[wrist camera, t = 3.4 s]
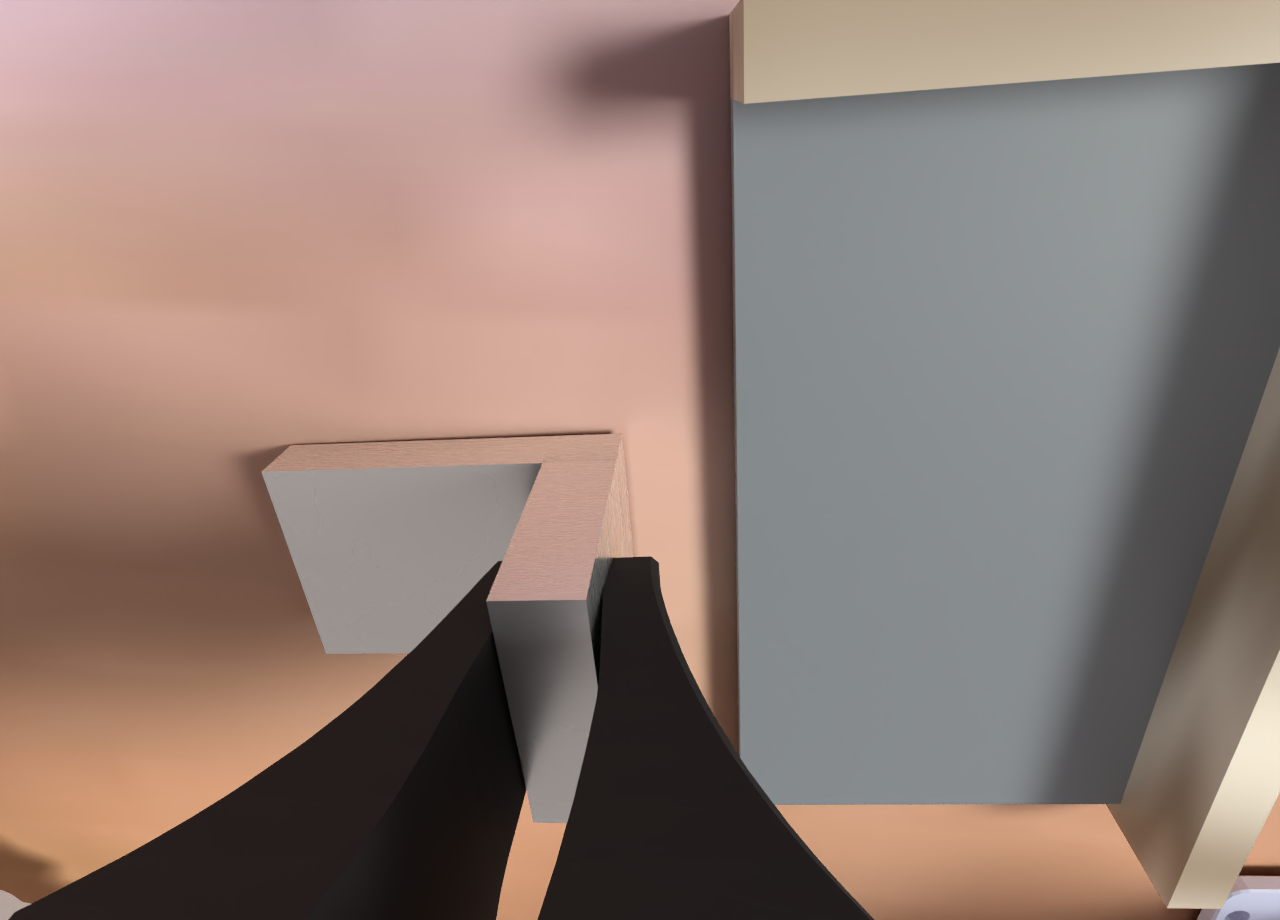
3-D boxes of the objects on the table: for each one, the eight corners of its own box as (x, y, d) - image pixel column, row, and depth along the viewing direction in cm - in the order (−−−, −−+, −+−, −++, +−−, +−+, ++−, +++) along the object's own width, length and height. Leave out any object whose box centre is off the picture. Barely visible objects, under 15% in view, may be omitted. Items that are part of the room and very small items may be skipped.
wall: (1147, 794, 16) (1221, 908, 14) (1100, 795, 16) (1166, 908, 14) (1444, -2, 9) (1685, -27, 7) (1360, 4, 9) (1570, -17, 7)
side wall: (1345, 50, 10) (1546, 40, 7) (730, 97, 10) (744, 103, 8) (1374, -42, 9) (1598, -80, 7) (729, 14, 10) (744, -4, 7)
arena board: (1105, 780, 16) (1120, 803, 15) (739, 781, 17) (740, 805, 16) (1345, 50, 10) (1383, 49, 9) (730, 97, 10) (733, 99, 10)
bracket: (622, 433, 12) (586, 600, 9) (639, 616, 14) (616, 823, 10) (290, 445, 13) (112, 606, 9) (348, 619, 15) (220, 816, 11)
